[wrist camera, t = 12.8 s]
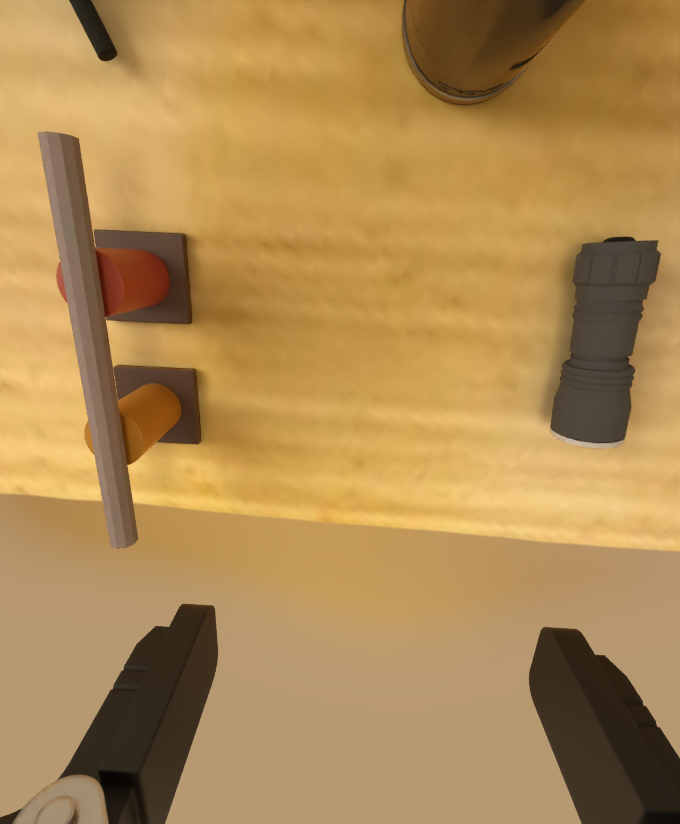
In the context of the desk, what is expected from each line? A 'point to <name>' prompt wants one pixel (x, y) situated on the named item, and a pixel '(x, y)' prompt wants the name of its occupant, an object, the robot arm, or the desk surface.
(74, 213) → the metal rod
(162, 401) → the ochre post
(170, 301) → the red peg stand
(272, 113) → the desk surface
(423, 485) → the desk surface
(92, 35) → the handheld radio
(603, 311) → the flashlight
